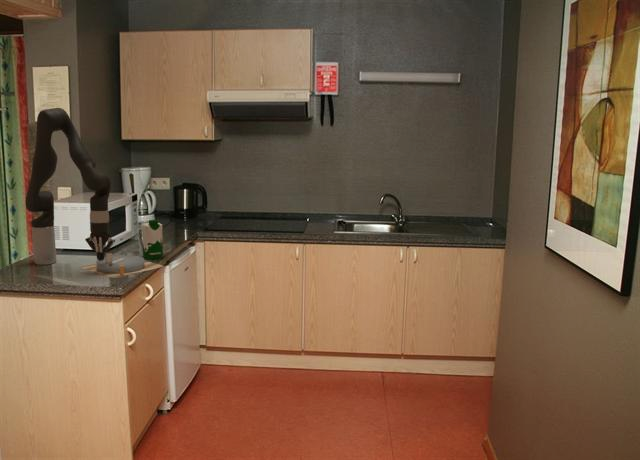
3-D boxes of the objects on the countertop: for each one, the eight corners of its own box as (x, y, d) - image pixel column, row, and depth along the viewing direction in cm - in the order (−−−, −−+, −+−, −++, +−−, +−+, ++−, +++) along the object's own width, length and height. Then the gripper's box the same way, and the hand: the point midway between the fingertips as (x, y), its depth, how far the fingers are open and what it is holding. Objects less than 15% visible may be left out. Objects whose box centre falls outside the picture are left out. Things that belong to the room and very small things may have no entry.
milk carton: (147, 263, 254) (145, 222, 251) (140, 259, 261) (139, 219, 258) (165, 261, 260) (164, 220, 256) (158, 257, 267) (157, 217, 263)
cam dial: (114, 260, 253) (113, 243, 252) (153, 263, 249) (152, 246, 247) (86, 270, 234) (85, 252, 232) (128, 274, 230) (127, 256, 228)
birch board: (79, 270, 240) (79, 258, 239) (130, 259, 261) (130, 248, 260) (113, 281, 225) (113, 268, 224) (165, 269, 246) (165, 257, 245)
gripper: (79, 220, 227) (81, 261, 230) (109, 223, 225) (110, 263, 228) (90, 218, 234) (91, 256, 238) (118, 220, 232) (119, 259, 236)
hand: (100, 260), depth 233 cm, fingers closed
